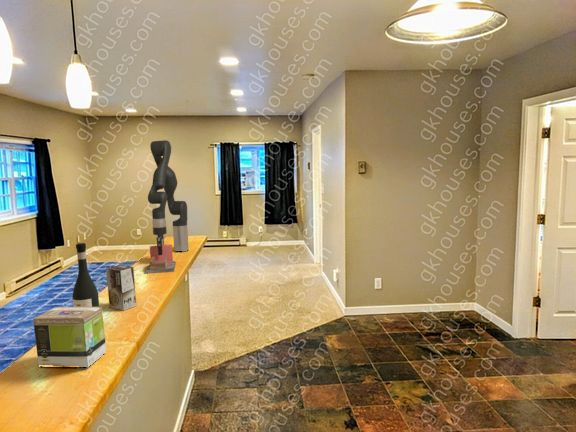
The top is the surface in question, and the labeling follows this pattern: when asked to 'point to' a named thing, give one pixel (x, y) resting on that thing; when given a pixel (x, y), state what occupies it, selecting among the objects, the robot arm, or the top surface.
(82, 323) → the tea box
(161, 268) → the book rack
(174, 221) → the robot arm
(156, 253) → the book
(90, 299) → the wine bottle
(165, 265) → the bookend
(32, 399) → the top surface
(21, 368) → the top surface
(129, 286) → the coffee box
